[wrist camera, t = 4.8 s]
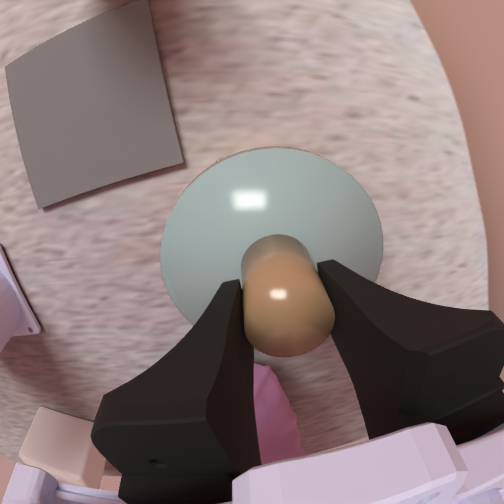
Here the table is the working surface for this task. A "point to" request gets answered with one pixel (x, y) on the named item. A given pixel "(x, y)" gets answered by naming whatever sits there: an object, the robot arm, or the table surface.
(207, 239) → the lid
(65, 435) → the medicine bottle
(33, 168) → the mat
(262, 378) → the toy character
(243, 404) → the robot arm
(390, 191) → the table surface
